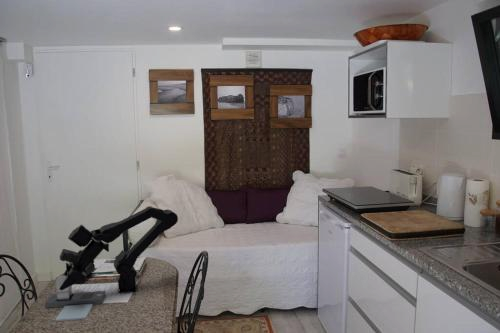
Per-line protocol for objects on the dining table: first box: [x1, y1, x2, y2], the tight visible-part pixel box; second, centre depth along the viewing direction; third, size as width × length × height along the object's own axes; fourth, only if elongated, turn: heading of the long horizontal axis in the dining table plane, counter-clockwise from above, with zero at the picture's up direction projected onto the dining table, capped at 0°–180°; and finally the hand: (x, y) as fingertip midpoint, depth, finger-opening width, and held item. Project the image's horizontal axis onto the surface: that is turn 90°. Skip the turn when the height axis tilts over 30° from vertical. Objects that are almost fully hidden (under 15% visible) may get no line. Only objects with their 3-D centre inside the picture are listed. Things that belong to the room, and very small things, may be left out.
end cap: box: [84, 262, 96, 278], centre depth 168 cm, size 10×7×7 cm
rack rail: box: [44, 290, 107, 309], centre depth 148 cm, size 20×7×2 cm, turn 98°
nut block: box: [55, 275, 73, 301], centre depth 147 cm, size 4×4×10 cm
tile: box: [55, 304, 94, 323], centre depth 139 cm, size 10×10×1 cm
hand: (60, 286), depth 146 cm, fingers closed on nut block, 5 cm apart
